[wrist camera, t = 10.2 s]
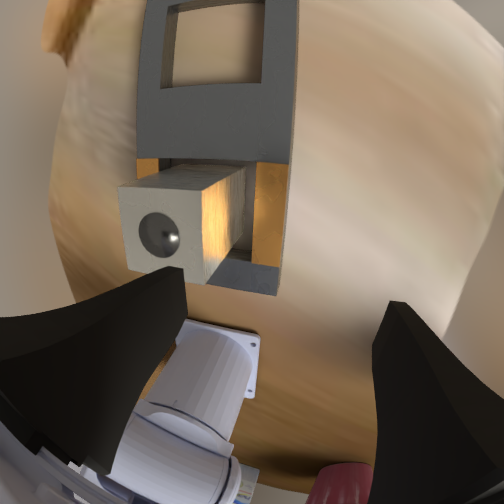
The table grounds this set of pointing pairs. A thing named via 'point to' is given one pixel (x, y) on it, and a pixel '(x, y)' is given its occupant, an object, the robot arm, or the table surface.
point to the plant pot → (342, 484)
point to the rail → (226, 127)
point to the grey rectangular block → (183, 218)
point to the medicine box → (246, 484)
